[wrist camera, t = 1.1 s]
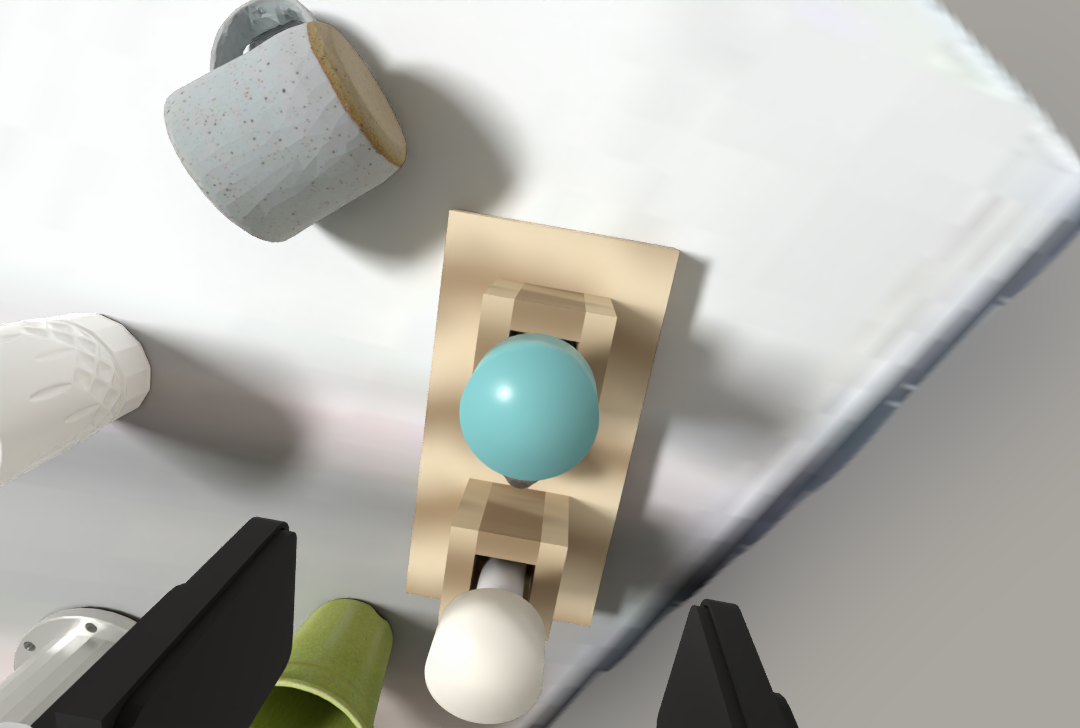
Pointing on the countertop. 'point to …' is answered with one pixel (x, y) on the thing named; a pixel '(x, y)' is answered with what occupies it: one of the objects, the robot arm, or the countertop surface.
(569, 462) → the teal knob
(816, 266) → the countertop surface
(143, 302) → the countertop surface
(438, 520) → the mount
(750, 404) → the countertop surface
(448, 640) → the ivory knob
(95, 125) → the countertop surface
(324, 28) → the ceramic mug
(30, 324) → the white cup
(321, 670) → the plant pot
